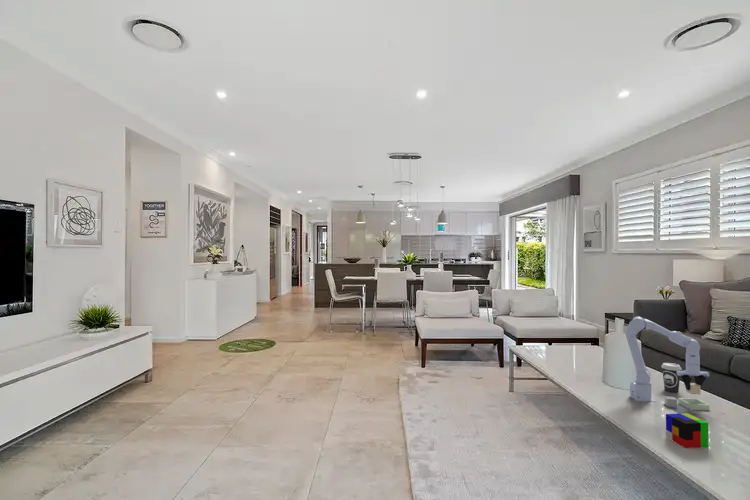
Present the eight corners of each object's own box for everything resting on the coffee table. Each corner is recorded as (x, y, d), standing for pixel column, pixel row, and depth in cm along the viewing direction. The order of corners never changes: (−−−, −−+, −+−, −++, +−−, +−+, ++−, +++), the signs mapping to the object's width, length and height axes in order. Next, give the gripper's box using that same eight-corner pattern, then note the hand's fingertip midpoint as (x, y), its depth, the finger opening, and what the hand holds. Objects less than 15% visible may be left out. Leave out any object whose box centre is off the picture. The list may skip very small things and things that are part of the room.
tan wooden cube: (691, 394, 209) (691, 385, 209) (686, 391, 213) (686, 382, 213) (700, 394, 208) (700, 385, 208) (695, 391, 212) (695, 383, 212)
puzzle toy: (666, 437, 176) (665, 414, 176) (687, 436, 177) (687, 413, 177) (685, 448, 166) (685, 423, 166) (708, 447, 167) (708, 422, 167)
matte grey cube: (667, 406, 211) (667, 398, 211) (664, 403, 215) (664, 396, 215) (677, 407, 209) (677, 399, 209) (674, 404, 213) (674, 397, 213)
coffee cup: (685, 394, 231) (685, 367, 231) (666, 392, 233) (666, 366, 233) (676, 388, 240) (676, 362, 240) (658, 387, 242) (658, 362, 242)
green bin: (690, 410, 207) (690, 404, 207) (678, 403, 216) (678, 398, 216) (709, 410, 206) (709, 405, 206) (696, 404, 215) (696, 398, 215)
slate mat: (679, 415, 200) (679, 414, 200) (662, 404, 214) (662, 404, 214) (697, 415, 200) (697, 415, 200) (678, 405, 214) (678, 404, 214)
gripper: (682, 365, 208) (683, 392, 208) (713, 365, 206) (713, 392, 206) (673, 361, 215) (674, 387, 215) (703, 362, 213) (703, 388, 213)
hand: (692, 389), depth 211 cm, fingers closed on tan wooden cube, 4 cm apart
